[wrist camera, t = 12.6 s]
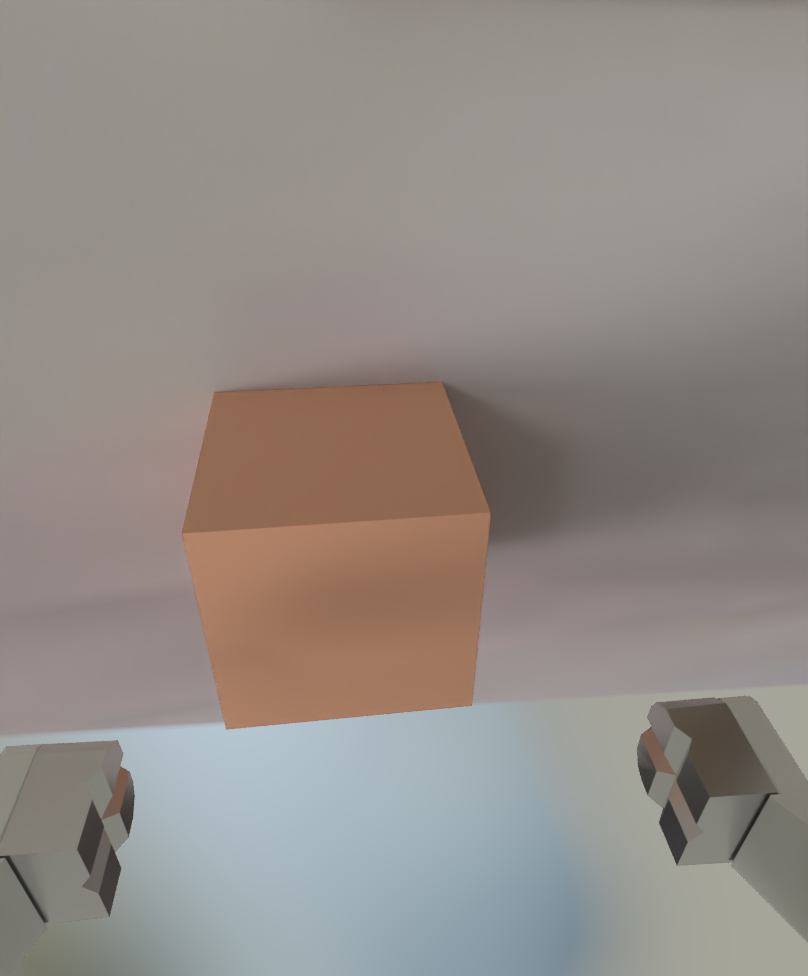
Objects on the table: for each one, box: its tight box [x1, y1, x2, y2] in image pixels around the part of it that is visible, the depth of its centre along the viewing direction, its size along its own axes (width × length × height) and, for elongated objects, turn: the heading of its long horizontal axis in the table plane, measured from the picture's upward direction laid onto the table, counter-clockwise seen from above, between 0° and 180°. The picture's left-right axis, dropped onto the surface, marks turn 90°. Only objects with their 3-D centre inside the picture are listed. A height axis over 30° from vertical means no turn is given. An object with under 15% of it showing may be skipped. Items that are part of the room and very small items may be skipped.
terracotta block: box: [182, 382, 491, 729], centre depth 15 cm, size 5×5×5 cm
